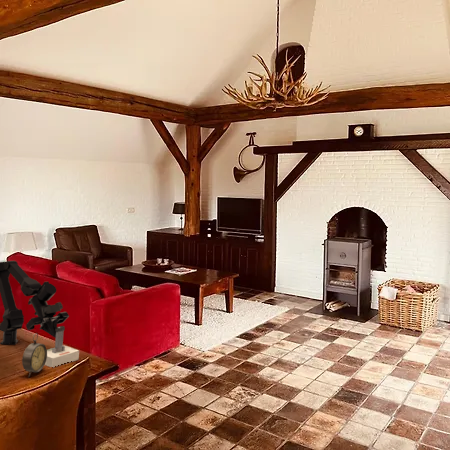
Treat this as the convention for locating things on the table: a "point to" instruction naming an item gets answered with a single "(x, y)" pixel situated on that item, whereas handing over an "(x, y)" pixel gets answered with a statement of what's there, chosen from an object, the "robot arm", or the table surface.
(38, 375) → the table surface
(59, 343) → the breaker lever
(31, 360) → the alarm clock
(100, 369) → the table surface
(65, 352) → the switch box
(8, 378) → the table surface
